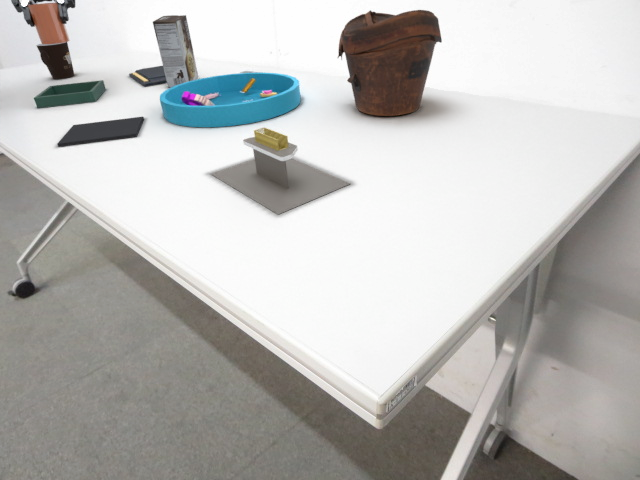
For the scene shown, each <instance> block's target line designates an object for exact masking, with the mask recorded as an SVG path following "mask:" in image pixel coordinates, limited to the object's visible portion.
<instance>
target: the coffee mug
mask: <svg viewBox="0 0 640 480" xmlns="http://www.w3.org/2000/svg"><path fill="white" fill-rule="evenodd" d="M68 43H69V42H64V43H57V44H42V43H38V44H36V48H37V51H38V52H39V55H40V60H41V61H42V63H43V64H44V65H45V66H46V68H47V70H48V72H49V74H50V76H51V78H52V79H53V80H66V79H70V78H73V77H75V71H74V66H73V61H72V57H71V53H70V49H69V44H68Z"/></svg>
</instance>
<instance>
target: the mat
mask: <svg viewBox="0 0 640 480" xmlns="http://www.w3.org/2000/svg"><path fill="white" fill-rule="evenodd" d="M144 121H145V118H144V116H136V117H129V118H120V119H110V120H104V121H103V120H102V121H94V122H87V123H78V124H72V126H71V127H70V128H69V130H68V131H66V133H65V134H64V135H63V136H62V138H60V140H59V141H58V142H57V143H56V145H57V147H59V148H60V147H68V146H74V145H83V144H90V143H99V142H107V141H113V140H121V139H129V138H136V137H138V135H139V132H140V130H141V128H142V125H143V122H144Z"/></svg>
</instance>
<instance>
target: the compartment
mask: <svg viewBox="0 0 640 480" xmlns="http://www.w3.org/2000/svg"><path fill="white" fill-rule="evenodd" d="M106 90H107V89H106V85H105V82H104V80H103V79H100V80H91V81H84V82H74V83H73V82H72V83H64V84H55V85H49V86H48V87H46V88H45V89H44V90H42V91H41V92H40V93H38V94H37V95H36V96H34V97H33V101H34V103H35V105H36V106H35V107H36V108H37V109H43V108H51V107H60V106H62V107H63V106H71V105H79V104H86V103H87V104H88V103H96V102H97V101H98V100H99V98H100V97H101V96H102V95H103V94H104V93H105V92H106Z"/></svg>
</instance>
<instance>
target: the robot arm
mask: <svg viewBox="0 0 640 480" xmlns="http://www.w3.org/2000/svg"><path fill="white" fill-rule="evenodd" d="M10 2H11V4H12V6H13V7H14V9H15V10H16V11H17V13H22V14H23V19H24V21H25V22H26V24H27V25H28V26H30V27H31V28H34V27H35V24H34V22H33V19H32V16H31V13H30V11H29V8H28V5H33V4H39V3H44V2H53V3H58V8H59V14H60V18H61V20H62V22H63V24H65V25H66V24H68V23H67V22H69V20H70V18H69V13H68V10H69V9H70V8H71V9H75V8H76V0H22V1H20V0H10ZM35 28H36V27H35Z"/></svg>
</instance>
